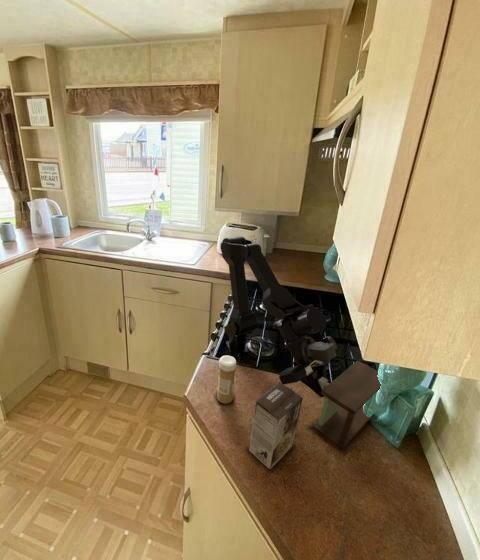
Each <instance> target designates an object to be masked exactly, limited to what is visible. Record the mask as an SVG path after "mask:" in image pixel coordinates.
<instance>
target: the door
mask: <svg viewBox="0 0 480 560" xmlns="http://www.w3.org/2000/svg"><path fill="white" fill-rule="evenodd" d="M318 382H319V384H320V386H321V388H322V390H323V389H324V388H325V387H326V386H327V385H329V384H330V383H331V382H330V383H329V380H328V378H327V379H326V378H324V377H322V378H320V379H319V380H318ZM314 395H315V396H316V397H318V398H319V399H321V398H323V399H324V400H323V404H322V407H321V412H320V414H319V418H318V420H319V422H318V424H319V425H321V426H322V425H323V424H324V423H325V422H326V421H327V420H328V419H329V418H330V417H332V416H333V415H334V414H335V413H336V412H337V411H338V408H339V405H337V404H336V403H334V402H333V401H331V400H330V399H328V398H327V397H325V396H324V397H320V396H319V395H318V394H316V393H315V392H314Z"/></svg>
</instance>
